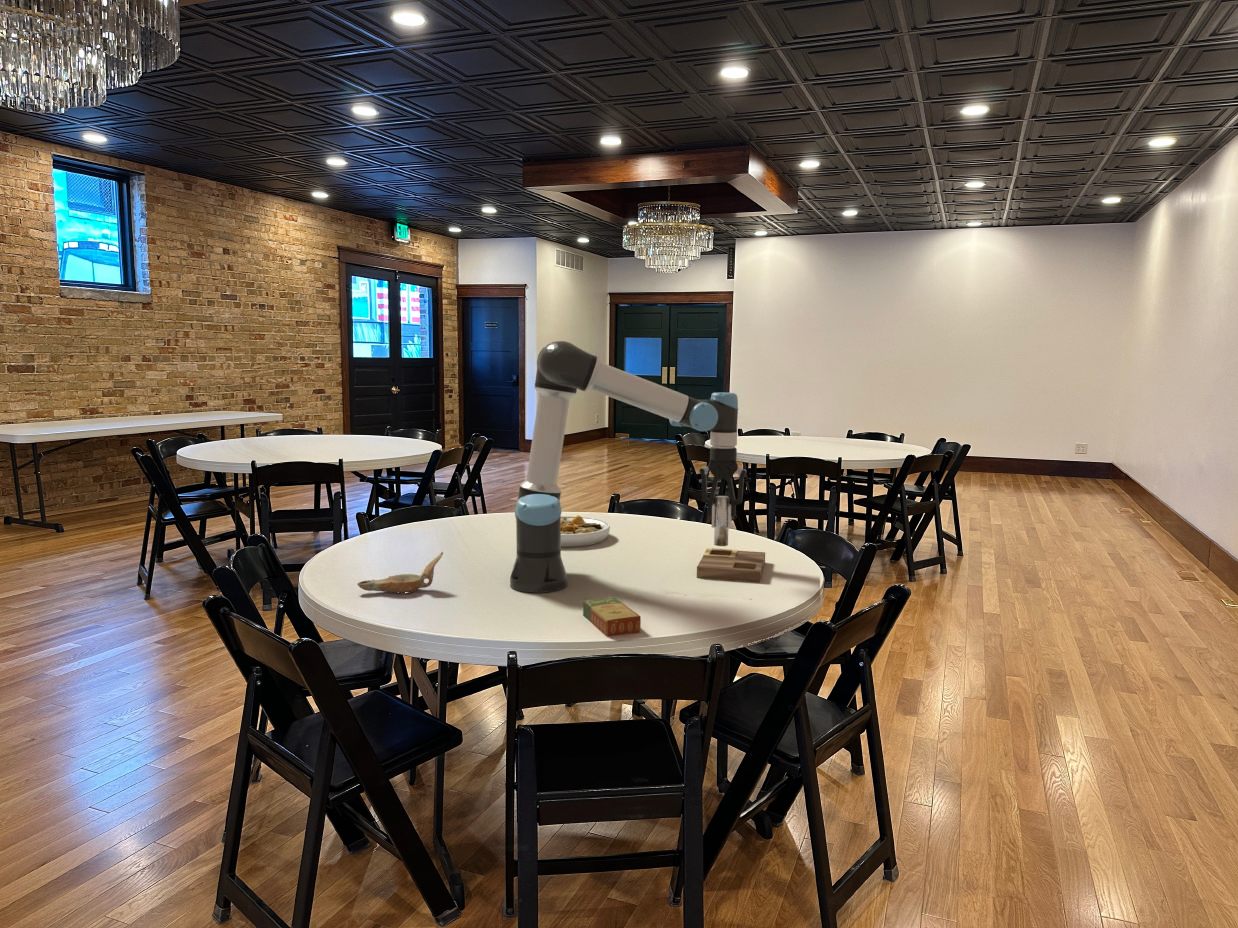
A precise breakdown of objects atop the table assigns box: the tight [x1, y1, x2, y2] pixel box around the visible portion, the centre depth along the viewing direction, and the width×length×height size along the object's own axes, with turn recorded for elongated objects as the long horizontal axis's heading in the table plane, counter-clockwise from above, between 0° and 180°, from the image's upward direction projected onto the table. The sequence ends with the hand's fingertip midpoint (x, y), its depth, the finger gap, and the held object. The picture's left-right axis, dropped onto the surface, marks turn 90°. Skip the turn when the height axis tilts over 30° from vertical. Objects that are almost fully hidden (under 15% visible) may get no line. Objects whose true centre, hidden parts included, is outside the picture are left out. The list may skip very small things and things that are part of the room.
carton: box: [582, 596, 642, 638], centre depth 182 cm, size 8×16×4 cm, turn 22°
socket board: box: [696, 547, 766, 583], centre depth 226 cm, size 22×17×4 cm
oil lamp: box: [357, 551, 444, 593], centre depth 205 cm, size 9×21×10 cm, turn 104°
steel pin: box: [713, 495, 730, 547], centre depth 232 cm, size 4×4×14 cm
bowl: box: [561, 515, 611, 548], centre depth 268 cm, size 30×30×8 cm
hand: (721, 526), depth 232 cm, fingers closed on steel pin, 4 cm apart
